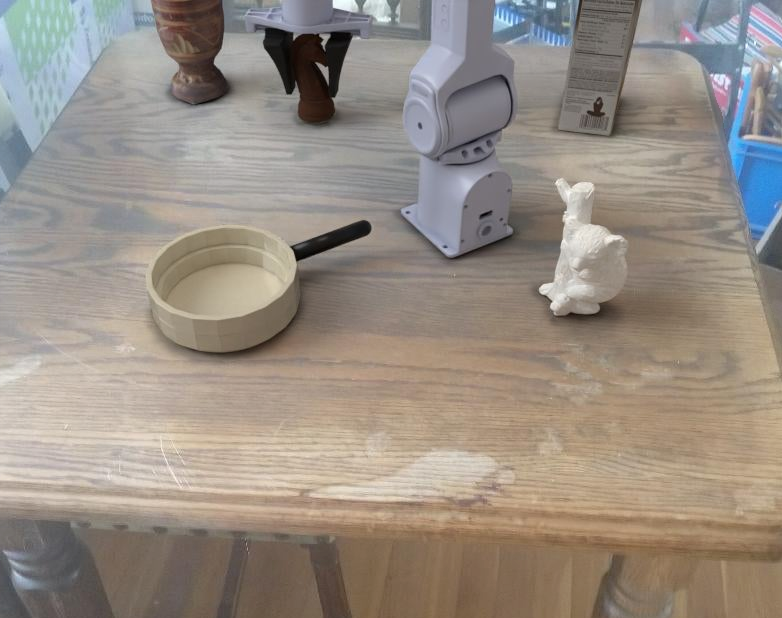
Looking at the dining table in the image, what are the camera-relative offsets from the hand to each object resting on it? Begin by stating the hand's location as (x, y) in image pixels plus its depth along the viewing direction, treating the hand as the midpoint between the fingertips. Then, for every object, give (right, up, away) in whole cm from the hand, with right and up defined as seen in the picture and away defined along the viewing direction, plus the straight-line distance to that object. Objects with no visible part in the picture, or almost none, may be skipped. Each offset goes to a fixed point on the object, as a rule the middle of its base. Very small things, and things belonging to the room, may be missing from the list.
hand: (312, 92), depth 104 cm
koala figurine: (+25, -29, -23) cm, 44 cm away
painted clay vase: (-15, +4, +10) cm, 19 cm away
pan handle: (+2, -23, -19) cm, 30 cm away
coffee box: (+33, -3, 0) cm, 33 cm away
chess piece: (0, -2, +2) cm, 3 cm away
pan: (-8, -28, -21) cm, 36 cm away
